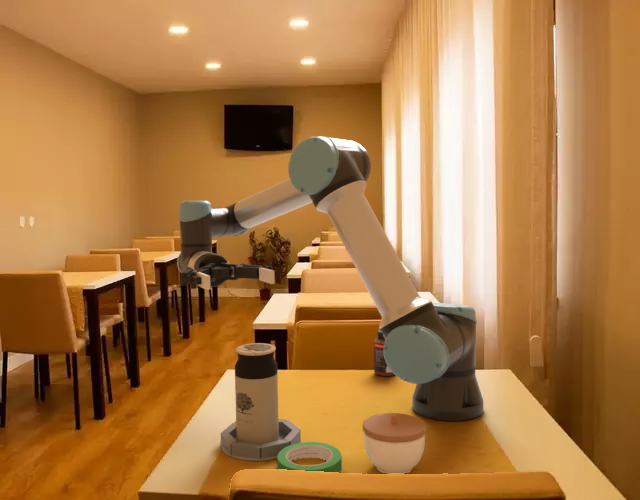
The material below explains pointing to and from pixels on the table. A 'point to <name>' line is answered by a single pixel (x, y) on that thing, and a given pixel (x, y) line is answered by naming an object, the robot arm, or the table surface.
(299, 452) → the tape roll
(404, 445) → the lidded jar
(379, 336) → the supplement bottle
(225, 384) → the table surface
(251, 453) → the socket ring
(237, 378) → the travel mug
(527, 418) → the table surface
